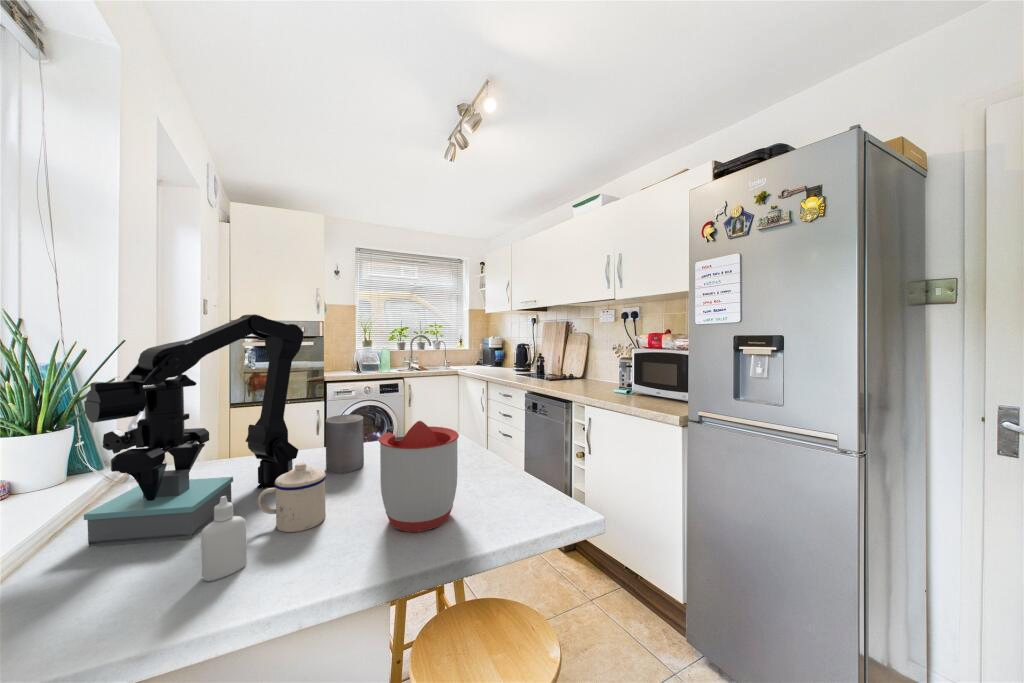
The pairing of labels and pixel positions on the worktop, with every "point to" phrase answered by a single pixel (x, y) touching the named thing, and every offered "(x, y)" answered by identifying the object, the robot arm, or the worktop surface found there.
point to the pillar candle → (344, 443)
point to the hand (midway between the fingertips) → (166, 490)
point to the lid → (163, 497)
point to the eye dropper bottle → (223, 543)
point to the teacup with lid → (298, 499)
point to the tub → (154, 525)
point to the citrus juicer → (419, 476)
